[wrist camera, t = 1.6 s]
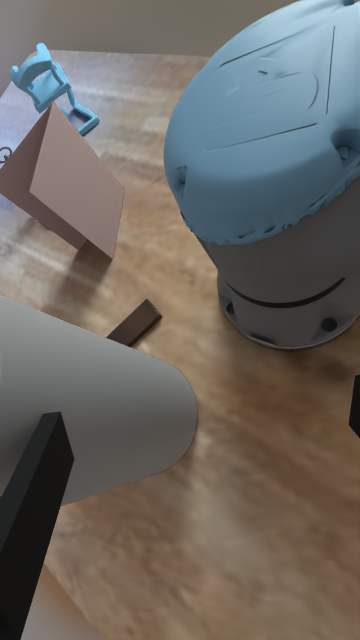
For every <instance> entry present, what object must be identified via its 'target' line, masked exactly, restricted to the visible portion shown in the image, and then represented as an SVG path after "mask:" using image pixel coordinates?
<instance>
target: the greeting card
mask: <svg viewBox="0 0 360 640" xmlns="http://www.w3.org/2000/svg"><path fill="white" fill-rule="evenodd" d="M0 193H1V194H2V195H4V196H5V197H6V198H8V199H9V200H10V201H12V202H13V203H15V204H16V205H17V206H19V207H20V208H21V209H23V210H24V211H26V212H27V213H28V214H30V215H31V216H32V217H34V218H35V219H36V220H38V221H39V222H41V223H42V224H43V225H45V226H46V227H47V228H49V229H50V230H52V231H53V232H54V233H56V234H57V235H58V236H60V237H61V238H63V239H64V240H65V241H67V242H68V243H69V244H71V245H72V246H74V247H75V248H76V249H79V248H80V247H81V245H82V244H83V243H84V242H85V240H86V239H88V240H89V241H91V242H92V243H93V244H94V245H96V246H97V247H98V248H99V249H101V250H102V251H103V252H104V253H105V254H107V255H108V256H109V257H110V258H112V259H113V255H114V249H115V244H116V238H117V232H118V227H119V221H120V215H121V210H122V204H123V198H124V193H125V189H124V188H123V186H122V185H121V184H120V183H119V182H118V180H117V179H116V178H115V177H114V175H113V174H112V173H111V172H110V170H109V169H108V168H107V167H106V165H105V164H104V163H103V162H102V161H101V159H100V158H99V157H98V156H97V154H96V153H95V152H94V151H93V149H92V148H91V147H90V146H89V145H88V143H87V142H86V141H85V140H84V138H83V137H82V136H81V135H80V133H79V132H78V131H77V130H76V128H75V127H74V126H73V125H72V124H71V122H70V121H69V120H68V119H67V117H66V116H65V115H64V114H63V112H62V111H61V110H60V109H59V107H58V106H57V105H56V104H55V103H54V101H53V102H52V103H51V105H50V106H49V107H48V109H47V110H46V111H45V112H44V114H43V115H42V116H41V118H40V119H39V120H38V121H37V123H36V124H35V125H34V127H33V128H32V129H31V130H30V132H29V133H28V134H27V136H26V137H25V138H24V139H23V141H22V142H21V143H20V145H19V146H18V147H17V148H16V150H15V151H14V152H13V154H12V155H11V156H10V157H9V159H8V160H7V161H6V163H5V164H4V165H3V166H2V168H1V169H0Z"/></svg>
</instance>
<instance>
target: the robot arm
mask: <svg viewBox="0 0 360 640" xmlns="http://www.w3.org/2000/svg"><path fill="white" fill-rule="evenodd" d="M164 166H165V173H166V177H167V181H168V184H169V186H170V188H171V190H172V193H173V195H174V197H175V199H176V201H177V203H178V205H179V208H180V210H181V215H182V217H183V220H184V221H185V223H186V225H187V226H188V227H189V228H190V230H191V232H193V233H194V234H195V236H196V237H197V239H198V240H199V242H200V243H201V245H202V246H203V248H204V249H205V251H206V252H207V254H208V255H209V257H210V258H211V260H212V262H213V263H214V265H215V266H216V268H217V269H218V277H217V288H218V295H219V300H220V303H221V306H222V308H223V310H224V312H225V314H226V316H227V317H228V319H229V320H230V322H231V323H232V324H233V325H234V326H235V327H236V329H237V330H238V331H239V332H240V333H242V334H243V335H244V336H245V337H247V338H248V339H250V340H251V341H253V342H255V343H257V344H259V345H261V346H264V347H267V348H271V349H275V350H281V351H301V350H308V349H312V348H316V347H319V346H322V345H324V344H327V343H329V342H331V341H333V340H334V339H336V338H337V337H339V336H341V335H342V334H343V333H344V332H346V331H347V330H348V329H349V328H350V327H351V326H352V325H353V324H354V323H355V321H356V320H357V319H358V318H359V316H360V1H359V2H357V3H356V4H354V0H301V1H298V2H296V3H293V4H291V5H288V6H285V7H283V8H281V9H279V10H277V11H275V12H272V13H271V14H269V15H267V16H265V17H263V18H261V19H260V20H258V21H256V22H255V23H253V24H251V25H250V26H248V27H247V28H245V29H244V30H243V31H241V32H240V33H239V34H237V35H236V36H235V37H233V38H232V39H231V40H229V41H228V42H227V43H226V44H225V45H224V46H223V47H221V48H220V49H219V50H218V51H217V52H216V53H215V54H214V55H213V56H212V57H211V59H210V60H209V62H208V63H207V64H206V65H205V66H204V67H203V68H202V69H201V70H200V71H199V72H198V73H197V74H196V75H195V76H194V78H193V79H192V80H191V82H190V83H189V85H188V86H187V88H186V89H185V91H184V92H183V94H182V96H181V97H180V99H179V101H178V103H177V105H176V107H175V109H174V112H173V114H172V117H171V119H170V122H169V125H168V129H167V133H166V138H165V145H164ZM349 426H350V427H351V428H352V429H353V431H354V432H355V433H356V434H357V436H358V437H359V438H360V375H357V376H355V380H354V388H353V395H352V403H351V410H350V418H349ZM73 463H74V455H73V452H72V449H71V445H70V442H69V438H68V435H67V431H66V428H65V424H64V421H63V418H62V414H61V411H59V412H51V413H43V415H42V417H41V418H40V420H39V422H38V424H37V426H36V428H35V430H34V432H33V434H32V436H31V438H30V440H29V442H28V444H27V446H26V448H25V450H24V452H23V454H22V456H21V458H20V460H19V462H18V464H17V466H16V468H15V470H14V472H13V474H12V476H11V478H10V480H9V482H8V484H7V486H6V488H5V490H4V492H3V494H2V496H0V640H20V639H21V636H22V633H23V629H24V626H25V623H26V619H27V616H28V613H29V609H30V606H31V603H32V599H33V596H34V593H35V589H36V586H37V583H38V579H39V576H40V573H41V569H42V566H43V563H44V559H45V556H46V553H47V549H48V546H49V543H50V539H51V536H52V533H53V529H54V526H55V523H56V519H57V516H58V513H59V509H60V506H61V503H62V499H63V496H64V493H65V489H66V486H67V483H68V479H69V476H70V473H71V469H72V466H73Z"/></svg>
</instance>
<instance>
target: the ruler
mask: <svg viewBox="0 0 360 640" xmlns="http://www.w3.org/2000/svg"><path fill="white" fill-rule="evenodd" d="M161 317H162V315H161V314H160V313H159V312H158V311H157V309H156V308H155V307H154V306H153V305H152V303H151V302H150V301H149V300H148V299H146V300H145V301H144V302H143V303H142V304H141V305H140V306H139V307H138V308H137V309H135V310H134V311H133V312H132V313H131V314H130V315H129V316H128V317H127V318H126V319H125V320H124V321H123V322H122V323H121V324H120V325H119V326H118V327H117V328H116V329H115V330H114V331H112V332H111V333H110V334H109V335H108V336H107V337H106V338H108V339H110V340H113V341H115V342H118V343H120V344H123V345H125V346H128V347H130V346H132V345H133V344H134V343H135V342H136V341H137V340H138V339H139V338H140V337H141V336H142V335H143V334H144V333H145V332H146V331H147V330H148V329H150V328H151V327H152V326H153V325H154V324H155V323H156V322H157V321H158V320H159V319H160V318H161Z"/></svg>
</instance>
